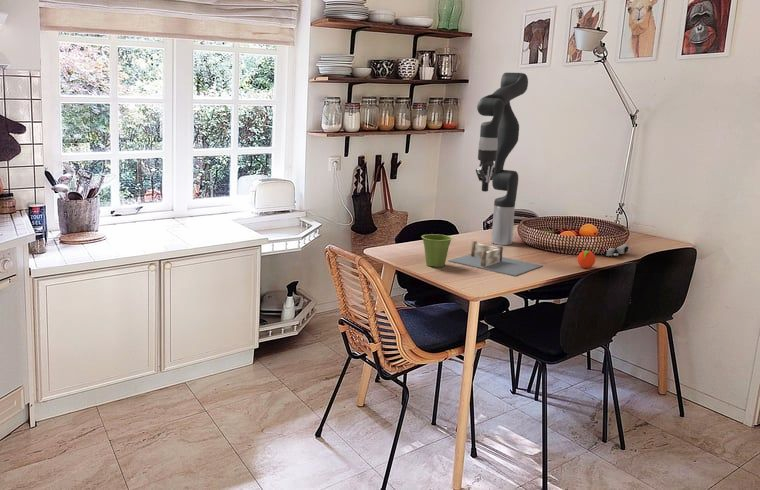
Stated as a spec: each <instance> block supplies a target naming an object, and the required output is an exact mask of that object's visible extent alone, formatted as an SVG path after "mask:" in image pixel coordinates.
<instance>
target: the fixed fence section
mask: <svg viewBox="0 0 760 490" xmlns="http://www.w3.org/2000/svg"><path fill="white" fill-rule="evenodd" d="M497 248H498V246H492V245H488V244H482V243H479V242H478V241H477V240H476V241H475V240H471V251H470V252H471V253H470V254H471V256H472V257H478V258H481V255H482V251H486V252H487V251H490V250H494V249H497Z"/></svg>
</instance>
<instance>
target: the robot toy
mask: <svg viewBox="0 0 760 490" xmlns="http://www.w3.org/2000/svg"><path fill="white" fill-rule="evenodd" d="M632 247H633V245H631V246H630V247H629V246H628V245H627V244H626V243H623V245H621V246H619V247H617V248H616V249H615V248H609V249H608V250H607V251H605V252H604V253H603V254H604V255H606V256H605V257H609V256H611V257H612V256H614V257H618V256H619V254H622V255H624V254H625V253H627V252H628V251H630V249H632ZM604 255H603V256H604Z"/></svg>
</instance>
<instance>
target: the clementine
mask: <svg viewBox="0 0 760 490" xmlns="http://www.w3.org/2000/svg"><path fill="white" fill-rule="evenodd" d="M576 259H577V260H576V261H577V264H578V265H579V266H580V267H581V268H584V269H589V268H591V267H593V266H594V265H595V263H596V261H597V260H596V255H595V253H593V251H590V250H588V249H587V250H582V251H581V252H580V253H579V254H578V255H577V258H576Z"/></svg>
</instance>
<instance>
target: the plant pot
mask: <svg viewBox="0 0 760 490" xmlns="http://www.w3.org/2000/svg"><path fill="white" fill-rule="evenodd" d="M421 239H422V241H423V246H424V257H425V264H426V266H427V267H434V268H441V267H444V266H445V265H446V261H447V257H448V252H449V247H450V244H451V240H452V241H453V237H452V236H450V235H445V234H433V233H431V234H430V233H429V234H423V235H421Z"/></svg>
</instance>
